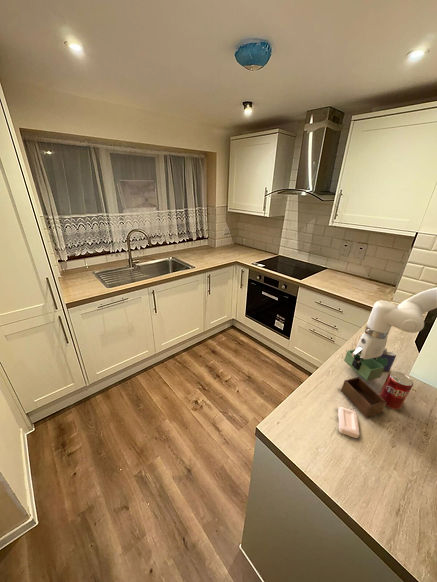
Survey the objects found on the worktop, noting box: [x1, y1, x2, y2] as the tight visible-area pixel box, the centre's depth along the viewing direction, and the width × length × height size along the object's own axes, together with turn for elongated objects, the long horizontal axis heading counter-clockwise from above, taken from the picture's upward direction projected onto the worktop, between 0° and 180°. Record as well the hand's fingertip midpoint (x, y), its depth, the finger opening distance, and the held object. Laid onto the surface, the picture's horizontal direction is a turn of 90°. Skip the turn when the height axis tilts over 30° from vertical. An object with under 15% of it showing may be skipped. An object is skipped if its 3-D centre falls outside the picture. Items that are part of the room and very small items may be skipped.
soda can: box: [378, 370, 414, 410], centre depth 85 cm, size 7×7×12 cm
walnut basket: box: [340, 376, 387, 419], centre depth 86 cm, size 12×7×6 cm, turn 17°
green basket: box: [343, 348, 385, 382], centre depth 98 cm, size 12×7×6 cm, turn 17°
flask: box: [376, 347, 397, 373], centre depth 102 cm, size 9×3×11 cm, turn 66°
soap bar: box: [337, 406, 360, 439], centre depth 79 cm, size 5×9×2 cm, turn 158°
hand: (362, 365), depth 98 cm, fingers closed on green basket, 7 cm apart
